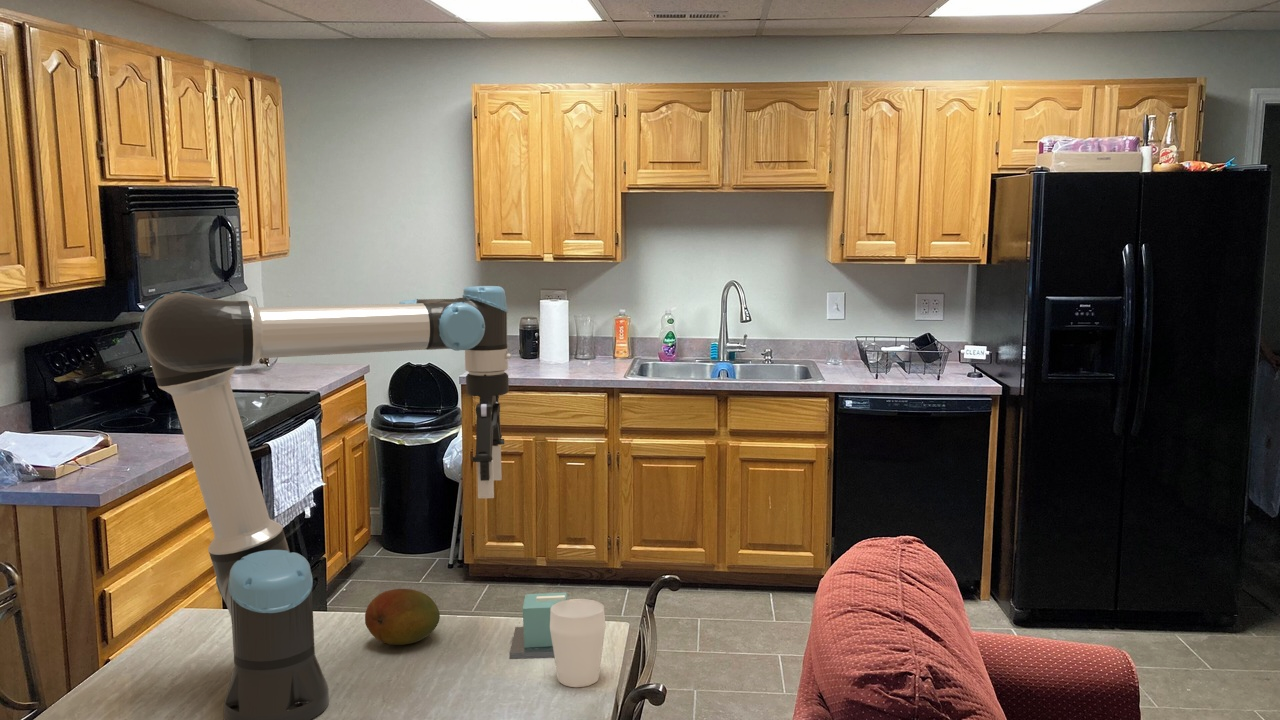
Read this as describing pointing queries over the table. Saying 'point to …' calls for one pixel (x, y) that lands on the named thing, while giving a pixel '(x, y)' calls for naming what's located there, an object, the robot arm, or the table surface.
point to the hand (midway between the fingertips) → (490, 488)
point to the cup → (577, 640)
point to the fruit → (401, 616)
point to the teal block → (539, 618)
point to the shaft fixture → (530, 652)
